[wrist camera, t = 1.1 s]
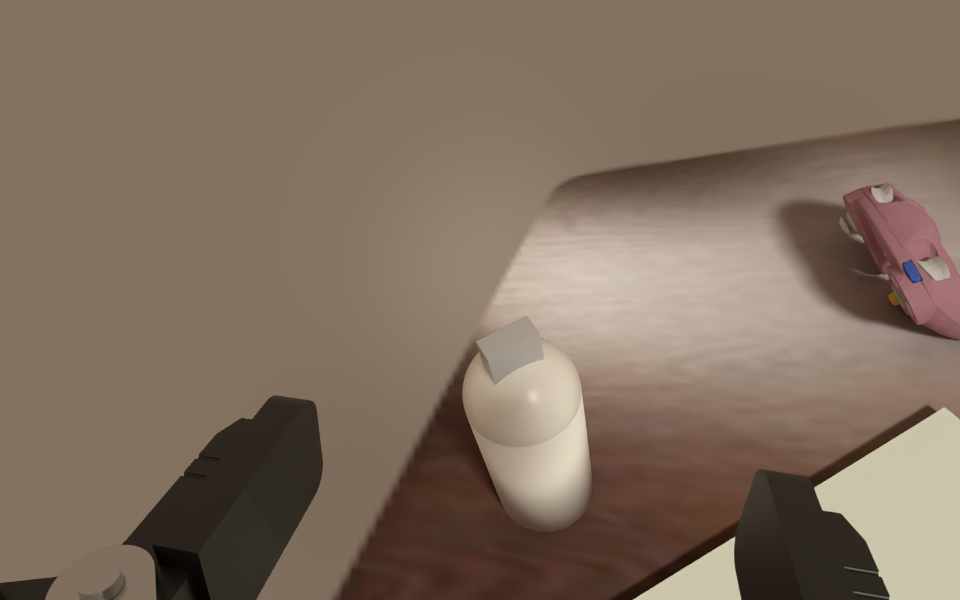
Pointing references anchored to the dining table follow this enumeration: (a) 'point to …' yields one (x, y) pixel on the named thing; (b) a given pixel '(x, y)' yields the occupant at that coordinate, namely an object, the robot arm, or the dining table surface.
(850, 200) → the video game controller
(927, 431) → the cream flat board
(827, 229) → the dining table surface
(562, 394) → the bottle with rectangular cap
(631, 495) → the dining table surface
